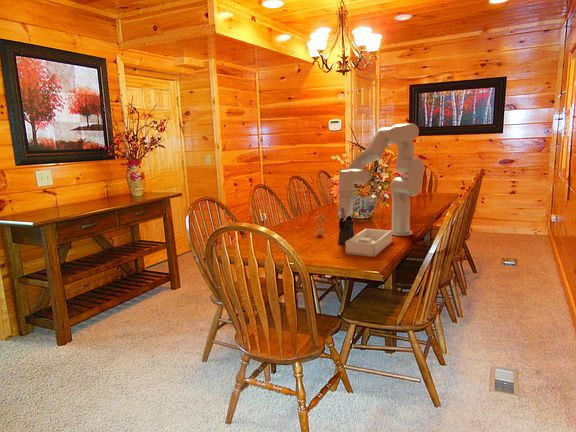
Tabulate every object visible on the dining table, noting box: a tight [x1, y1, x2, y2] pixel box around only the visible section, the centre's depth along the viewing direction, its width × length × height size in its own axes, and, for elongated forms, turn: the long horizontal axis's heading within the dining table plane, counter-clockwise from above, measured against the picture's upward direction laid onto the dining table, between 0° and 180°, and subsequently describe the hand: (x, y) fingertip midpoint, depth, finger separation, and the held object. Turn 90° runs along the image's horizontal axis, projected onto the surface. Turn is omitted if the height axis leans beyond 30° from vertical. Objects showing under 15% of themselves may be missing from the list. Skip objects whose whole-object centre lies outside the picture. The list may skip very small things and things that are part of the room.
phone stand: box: [337, 219, 356, 246], centre depth 223 cm, size 9×6×12 cm, turn 149°
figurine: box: [312, 213, 329, 237], centre depth 240 cm, size 8×6×12 cm
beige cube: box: [359, 237, 372, 243], centre depth 206 cm, size 5×5×5 cm
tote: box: [344, 228, 393, 258], centre depth 212 cm, size 30×14×6 cm, turn 151°
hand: (345, 227), depth 222 cm, fingers open, 9 cm apart
